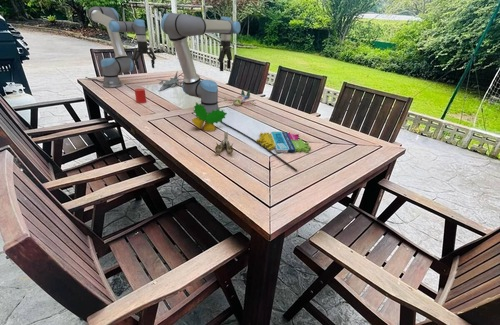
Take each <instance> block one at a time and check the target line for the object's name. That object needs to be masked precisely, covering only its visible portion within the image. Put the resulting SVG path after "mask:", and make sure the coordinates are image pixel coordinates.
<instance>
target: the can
mask: <svg viewBox="0 0 500 325" xmlns="http://www.w3.org/2000/svg"><path fill="white" fill-rule="evenodd" d="M134 94H135V102H136V103H137V104H145V103H147V96H146V95H147V94H146V89H145V88H135V89H134Z"/></svg>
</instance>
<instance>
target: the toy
mask: <svg viewBox="0 0 500 325" xmlns="http://www.w3.org/2000/svg"><path fill="white" fill-rule="evenodd" d="M240 92H241V93H240V95H238V96H237V97H235V99H233V98H230V99H228V98H227V97H226V96H225V97H224V98H223V101H224V102H233V103H232V104H233V105H235V106H242V103H243V104H247V105H252V106H255V105H256V104H257V103H256V102H254V101H253V100H252V101H251V102H250V101H248V100H246V99H248V98H250V97H251V90H250V89H249V90H248V91H247V92H246V93H245V91H244V89H242V90H241V91H240Z"/></svg>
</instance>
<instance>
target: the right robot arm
mask: <svg viewBox="0 0 500 325" xmlns="http://www.w3.org/2000/svg"><path fill="white" fill-rule="evenodd" d="M160 28H161V30H162V32H163V33H164V34H165V35H167V36H168V39H169V42H171V43H173V46H174V49H175V52H176V56H177V58H178V62H179V65H180V68H181V71H182V74H183V78H182V79H183V80H182V82H183V83H182V84H181V88H182V92H184V94H185V95H187V96H190V97H194V98H198V99H200V104H201V106H204V109H206V112H208V113H211V112H212V110H214V111H216V110H217V109H219V111H221V110H220V107H219V102H218V99H219V88H218V83H217V82H216V81H214V80H211V79H201V76H200V75H199V74H198V73H197V71H196V67H195V64H194V60H193V56H192V53H191V49H190V47H189V42H188V38H189V37H195V36H203V35H205V34H219V35H220V46H221V47H220V48H219V49H220V50H219V56H218V61H217V62H219V71H220V72H224V65H225V64H224V59H225V57H226V59H227V61H226V69H228V70H231V67H232V66H231V62H232V60H233V55H232V49H231V44H232V42H231V40H232V34H233V35H235V34H236V35H238V34H239V33H240V32H241V23H240V22H239V21H236V20H232V18H231V17H229V16H221V17H220V19H207V18H206V19H205V18H203V17H201V16H195V15H191V14H187V13H176V12H167V13H164V15H162V18H161V20H160ZM208 113H207V115H208ZM219 122H220V123H221V124H223V125H225V126H226V127H228V128H230V129H232V130H234V131H235V132H238V133H240V134H241V135H243V136H245V137H246V138H248V139H249V140H251V141H253V142H255V144H257V145H258V146H260V147H261V148H263V149H265V150H266V151H267V152H269V153H270V154H272V155H273V156H275V158H277V159H279V160H280V161H281V162H282V163H284V164H285V165H287V166H288V167H290V168H291V169H293V170H294V171H295V172H297V171H298V169H297V168H296V167H294V166H293V165H291V164H289V163H288V162H286V161H285V160H284V159H283V158H281V157H280V156H278V155H277V154H275V153H274V152H273V151H272V150H268V148H266V147H265V146H262V143H258V142H257V140H256V139H253V138H252V137H250V136H249V135H248V134H246V133H244V132H242V131H240V130H238V129H236V128H234V127H233V126H231V125H229V124H227V123H225V122H223V121H222V122H221V121H219Z"/></svg>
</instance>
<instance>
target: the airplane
mask: <svg viewBox="0 0 500 325" xmlns="http://www.w3.org/2000/svg"><path fill="white" fill-rule="evenodd" d="M178 73H179V72H178V70H177V71H176V73H175V75H174V77H169V79H170V80H167V79H159V78H157V79H156V80H157V81H160V83H159V84H162V83H163V85H162V86H160V87H159V90H158V92H159V91H164V90H166V89H167V88H173V87H175V86H177V85H179V86H182V85H183V84H182V83H183V79H184V78H179V77H178Z"/></svg>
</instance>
